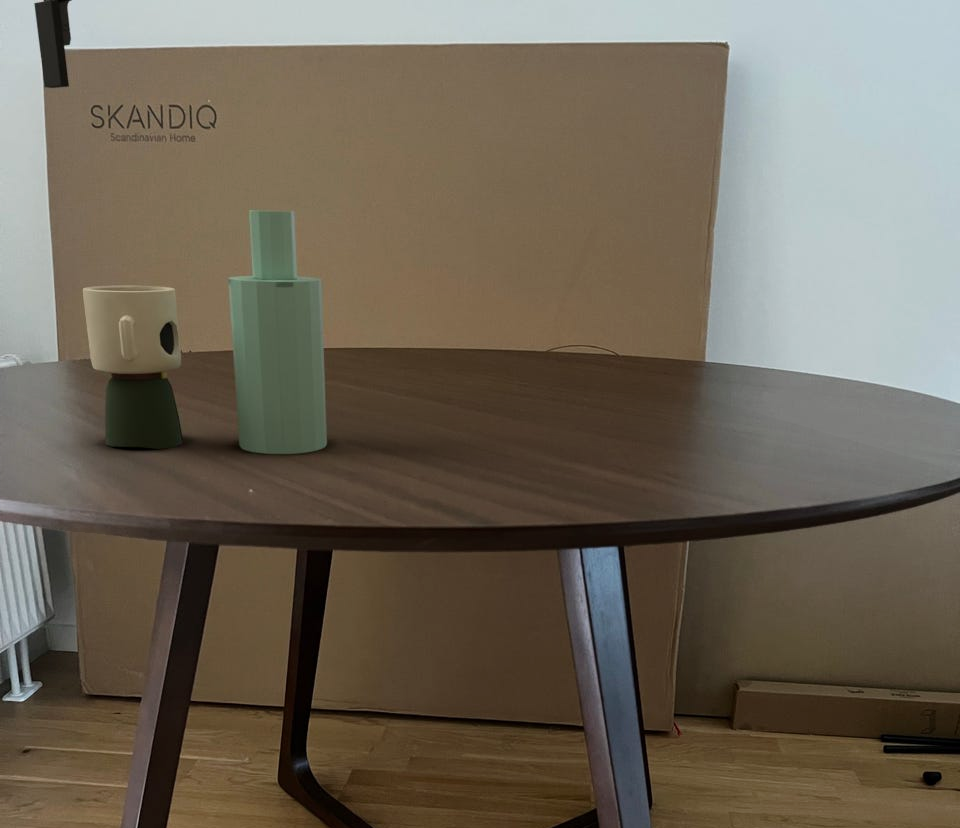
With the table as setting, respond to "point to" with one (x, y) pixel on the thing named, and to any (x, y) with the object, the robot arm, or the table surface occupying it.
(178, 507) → the table surface
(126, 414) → the character mug
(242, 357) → the bottle
